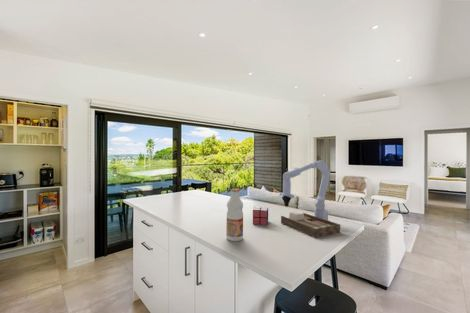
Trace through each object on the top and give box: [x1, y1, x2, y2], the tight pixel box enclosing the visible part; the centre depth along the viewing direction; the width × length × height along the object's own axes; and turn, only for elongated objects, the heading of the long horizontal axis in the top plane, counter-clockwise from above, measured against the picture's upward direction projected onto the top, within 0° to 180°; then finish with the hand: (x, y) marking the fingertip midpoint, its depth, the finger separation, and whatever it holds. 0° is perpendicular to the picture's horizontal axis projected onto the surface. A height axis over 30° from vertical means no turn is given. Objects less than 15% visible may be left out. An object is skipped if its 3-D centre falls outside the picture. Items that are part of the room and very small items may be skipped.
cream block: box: [288, 210, 305, 220], centre depth 157 cm, size 7×7×4 cm
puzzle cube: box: [252, 206, 269, 226], centre depth 157 cm, size 10×10×10 cm
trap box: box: [280, 212, 341, 239], centre depth 147 cm, size 21×31×5 cm
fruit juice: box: [225, 188, 244, 242], centre depth 126 cm, size 9×9×28 cm
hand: (286, 206), depth 167 cm, fingers closed
